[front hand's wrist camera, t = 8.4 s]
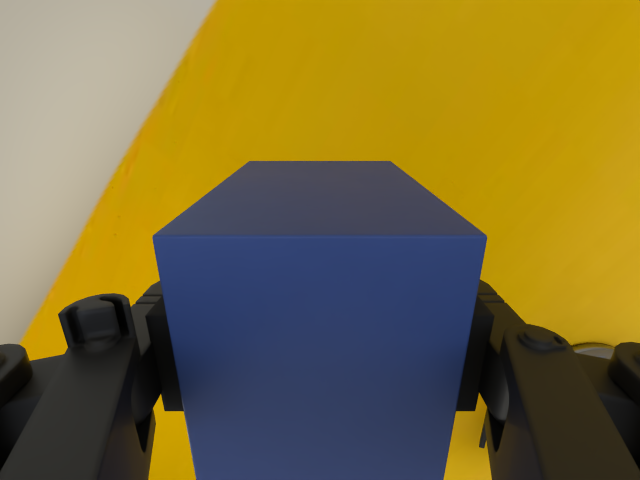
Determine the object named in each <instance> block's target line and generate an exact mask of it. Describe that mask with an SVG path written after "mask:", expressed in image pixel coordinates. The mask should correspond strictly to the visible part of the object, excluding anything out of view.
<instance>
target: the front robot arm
mask: <svg viewBox="0 0 640 480" xmlns="http://www.w3.org/2000/svg"><path fill="white" fill-rule="evenodd" d="M58 316H59V319H60V322H61V326H62V329H63V332H64V335H65V339H66V342H67V345H68V349H67V350H66V352H65V354H63V355H58V356H53V357H48V358H43V359H38V360H32V361H29V358H28V355H27V352H26V350H25V348H24V347H22V346H21V345H17V344H4V345H0V480H148V476H149V469H150V462H151V454H152V447H153V440H154V433H155V425H156V422H155V415H154V411H153V407H154V405H155V403H156V401H157V400H158V398H159V396H160V394H161V395H162V400H163V405H164V410H165V411H184V409H183V403H182V398H181V392H180V387H179V381H178V376H177V370H176V365H175V359H174V354H173V348H172V343H171V337H170V332H169V326H168V321H167V315H166V310H165V304H164V299H163V293H162V288H161V282H160V281H159V282H157V283H155V284H153V285H151V286H150V288H149V289H148V290H147V291H146V292H145V293H144V294H143V296H141V297H140V298H139V299H138V300H137V301H136V304H133V306H132V307H130V303H129V299H128V298H127V297H126V296H124V295H121V294H115V293H112V294H100V295H95V296H90V297H87V298H84V299H81V300H79V301H76V302H74V303H72V304H71V305H69V306H67V307H65V308H64V309H63V310H62V311H61V312H60V313H59V314H58ZM479 393H480V395H481V396H482V398H483V400H484V402H485V404H486V405H487V411H486V415H485V420H484V424H483V429H482V433H481V438H480V444H479V447H481V448H484V447H485V442H486V440H487V446H488V453H489V461H490V468H491V475H492V480H640V343H635V342H626V343H620V344H619V345H617V346H616V347H615V348H614V347H612V346H609V345H605V344H598V343H589V344H581V345H576V346H573V347H572V346H571V345H570V344H569V343H568V342H567V341H566V340H565V339H564V338H562V337H561V336H559V335H558V334H556V333H555V332H552V331H550V330H548V329H545V328H543V327H539V326H535V325H531V324H526V323H525V322H524V321H523V320H522V319H521V318H520V317H519V316H518V315H517V314H516V313H515V312H514V311H513V309H512V308H511V307H510V306H509V305H508V304H507V303H504V300H503V299H502V298H501V297H500V296H499V295H497V293H496V292H495V290H494V289H493V288H492V287H491V286H490V285H489V284H487V283H485V282H484V281H482V280H479V285H478V291H477V296H476V302H475V308H474V313H473V319H472V324H471V330H470V335H469V341H468V346H467V352H466V357H465V363H464V368H463V374H462V379H461V385H460V390H459V396H458V402H457V407H456V411H475V409H476V404H477V399H478V394H479Z"/></svg>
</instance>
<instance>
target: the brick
mask: <svg viewBox="0 0 640 480" xmlns="http://www.w3.org/2000/svg"><path fill="white" fill-rule="evenodd" d="M486 241H487V236H486V235H485V234H484V233H483V232H481V231H480V230H479V229H478V228H476V227H475V226H474V225H472V224H471V223H470V222H469V221H467V220H466V219H465V218H463V217H462V216H461V215H459V214H458V213H457V212H456V211H454V210H453V209H452V208H450V207H449V206H448V205H446V204H445V203H444V202H443V201H441V200H440V199H439V198H437V197H436V196H435V195H434V194H432V193H431V192H430V191H428V190H427V189H426V188H424V187H423V186H422V185H421V184H419V183H418V182H417V181H415V180H414V179H413V178H412V177H410V176H409V175H408V174H406V173H405V172H404V171H402V170H401V169H400V168H399V167H397V166H396V165H395V164H393V163H392V162H391V161H249V162H248V163H246V164H245V165H244V166H243V167H241V168H240V169H239V170H237V171H236V172H235V173H233V174H232V175H231V176H230V177H228V178H227V179H226V180H224V181H223V182H222V183H220V184H219V185H218V186H217V187H215V188H214V189H213V190H211V191H210V192H209V193H207V194H206V195H205V196H204V197H202V198H201V199H200V200H198V201H197V202H196V203H194V204H193V205H192V206H191V207H189V208H188V209H187V210H185V211H184V212H183V213H181V214H180V215H179V216H178V217H176V218H175V219H174V220H172V221H171V222H170V223H169V224H167V225H166V226H165V227H163V228H162V229H161V230H159V231H158V232H157V233H156V234H154V235H153V244H154V249H155V255H156V260H157V266H158V271H159V277H160V282H161V288H162V293H163V299H164V304H165V310H166V315H167V321H168V326H169V332H170V337H171V343H172V348H173V354H174V359H175V365H176V370H177V376H178V381H179V387H180V392H181V398H182V403H183V409H184V415H185V420H186V426H187V431H188V437H189V442H190V448H191V453H192V459H193V464H194V470H195V475H196V480H443V479H444V473H445V468H446V462H447V457H448V451H449V446H450V440H451V435H452V429H453V424H454V418H455V413H456V407H457V402H458V396H459V390H460V385H461V379H462V374H463V368H464V363H465V357H466V352H467V346H468V341H469V335H470V330H471V324H472V319H473V313H474V308H475V302H476V296H477V291H478V285H479V280H480V274H481V269H482V263H483V258H484V252H485V247H486Z"/></svg>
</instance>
